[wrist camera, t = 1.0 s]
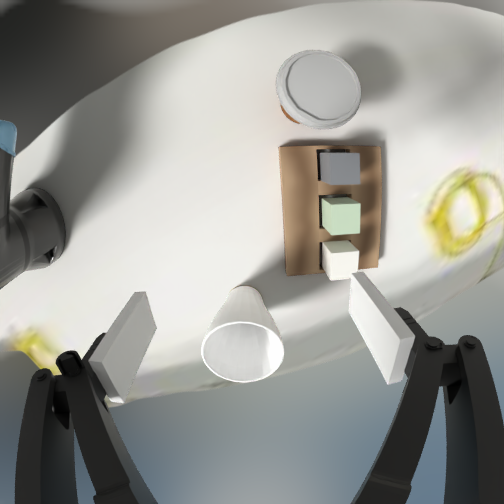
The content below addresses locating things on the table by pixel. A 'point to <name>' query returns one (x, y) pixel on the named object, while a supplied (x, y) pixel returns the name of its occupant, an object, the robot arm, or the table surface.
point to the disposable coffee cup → (318, 89)
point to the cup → (243, 339)
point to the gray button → (340, 168)
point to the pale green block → (341, 215)
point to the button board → (307, 207)
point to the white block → (339, 259)
